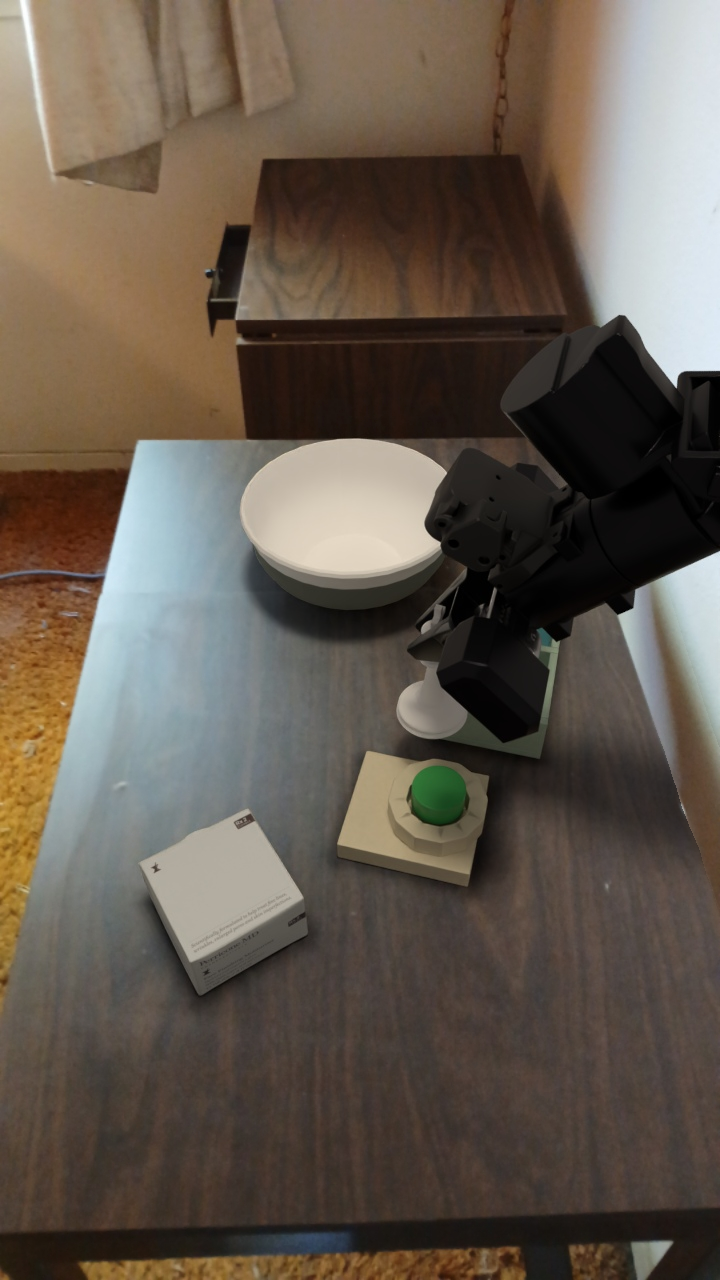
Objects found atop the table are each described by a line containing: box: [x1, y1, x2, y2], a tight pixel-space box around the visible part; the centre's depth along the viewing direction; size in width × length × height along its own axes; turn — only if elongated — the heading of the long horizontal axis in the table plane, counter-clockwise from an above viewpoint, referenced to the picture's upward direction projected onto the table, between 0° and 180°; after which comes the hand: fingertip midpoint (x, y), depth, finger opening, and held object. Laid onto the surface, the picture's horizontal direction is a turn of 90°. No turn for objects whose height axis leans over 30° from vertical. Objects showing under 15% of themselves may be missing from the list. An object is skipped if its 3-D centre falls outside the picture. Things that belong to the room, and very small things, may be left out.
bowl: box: [239, 438, 448, 611], centre depth 77 cm, size 19×19×8 cm
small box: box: [137, 808, 309, 996], centre depth 56 cm, size 8×8×5 cm
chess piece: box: [395, 604, 467, 740], centre depth 58 cm, size 5×5×10 cm
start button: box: [411, 765, 466, 825], centre depth 59 cm, size 4×4×2 cm
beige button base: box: [336, 750, 490, 888], centre depth 61 cm, size 9×8×4 cm
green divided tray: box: [440, 628, 561, 760], centre depth 70 cm, size 15×8×4 cm, turn 165°
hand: (415, 641), depth 58 cm, fingers closed on chess piece
